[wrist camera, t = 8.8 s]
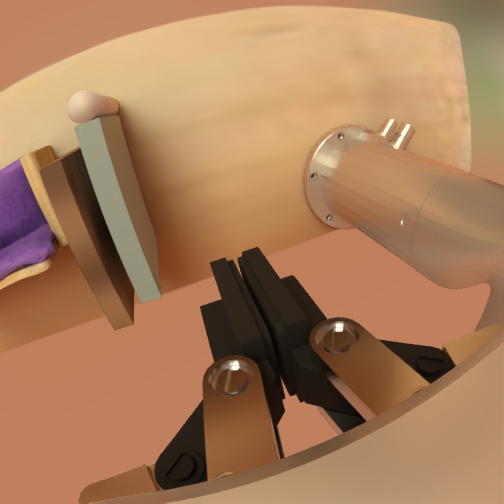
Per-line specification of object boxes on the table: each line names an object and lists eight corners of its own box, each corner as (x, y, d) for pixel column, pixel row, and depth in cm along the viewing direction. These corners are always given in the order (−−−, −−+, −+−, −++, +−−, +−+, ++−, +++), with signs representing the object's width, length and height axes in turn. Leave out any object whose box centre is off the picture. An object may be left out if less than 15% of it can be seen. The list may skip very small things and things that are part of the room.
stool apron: (80, 146, 25) (38, 170, 15) (95, 139, 25) (60, 159, 15) (122, 257, 31) (114, 330, 21) (136, 252, 31) (133, 324, 21)
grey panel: (116, 94, 24) (94, 85, 14) (158, 236, 31) (164, 296, 22) (96, 101, 23) (64, 98, 14) (140, 242, 31) (138, 304, 21)
